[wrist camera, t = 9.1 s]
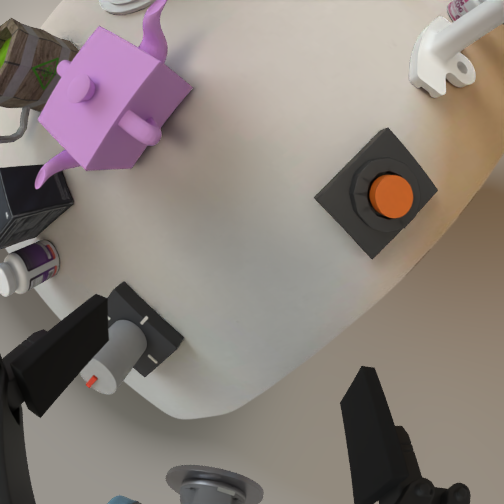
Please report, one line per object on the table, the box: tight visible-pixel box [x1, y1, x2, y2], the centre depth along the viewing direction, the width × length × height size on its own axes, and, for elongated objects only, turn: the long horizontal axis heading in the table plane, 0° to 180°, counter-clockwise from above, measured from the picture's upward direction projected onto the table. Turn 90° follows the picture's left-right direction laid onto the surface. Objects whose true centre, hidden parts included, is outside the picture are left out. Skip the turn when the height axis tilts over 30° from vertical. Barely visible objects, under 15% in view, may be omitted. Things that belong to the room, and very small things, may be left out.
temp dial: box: [80, 320, 147, 394], centre depth 27 cm, size 5×5×8 cm
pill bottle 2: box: [447, 0, 486, 22], centre depth 14 cm, size 5×5×8 cm
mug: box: [0, 18, 79, 143], centre depth 20 cm, size 16×11×12 cm
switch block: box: [314, 128, 438, 259], centre depth 24 cm, size 10×8×4 cm
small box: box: [0, 165, 73, 249], centre depth 25 cm, size 11×6×10 cm, turn 115°
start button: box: [369, 175, 413, 218], centre depth 22 cm, size 4×4×2 cm
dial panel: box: [108, 282, 184, 377], centre depth 32 cm, size 10×9×3 cm
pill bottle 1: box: [0, 240, 59, 296], centre depth 28 cm, size 5×5×10 cm
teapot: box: [35, 0, 193, 189], centre depth 21 cm, size 15×13×11 cm
